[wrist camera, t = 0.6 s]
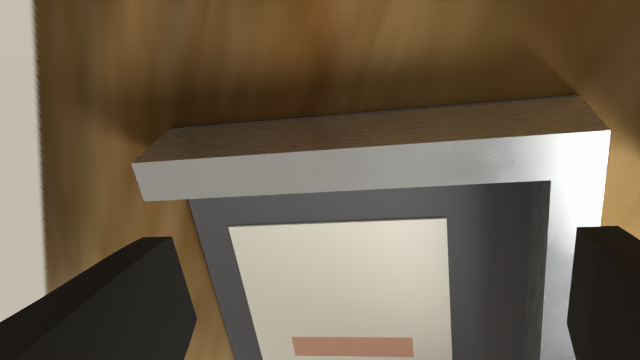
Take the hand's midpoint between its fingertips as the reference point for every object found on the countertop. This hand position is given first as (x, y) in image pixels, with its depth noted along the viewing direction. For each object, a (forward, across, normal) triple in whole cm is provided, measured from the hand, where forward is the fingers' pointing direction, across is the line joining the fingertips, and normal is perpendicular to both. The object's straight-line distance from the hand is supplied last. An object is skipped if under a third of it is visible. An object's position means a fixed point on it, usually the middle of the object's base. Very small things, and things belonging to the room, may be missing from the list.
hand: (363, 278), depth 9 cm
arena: (+10, +1, +9) cm, 14 cm away
